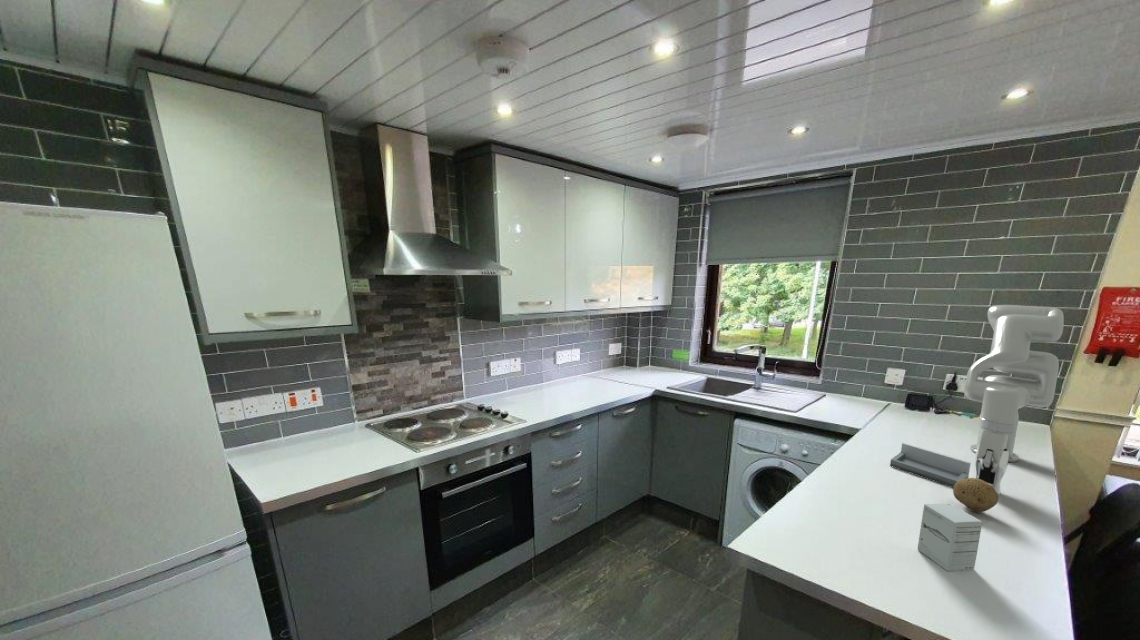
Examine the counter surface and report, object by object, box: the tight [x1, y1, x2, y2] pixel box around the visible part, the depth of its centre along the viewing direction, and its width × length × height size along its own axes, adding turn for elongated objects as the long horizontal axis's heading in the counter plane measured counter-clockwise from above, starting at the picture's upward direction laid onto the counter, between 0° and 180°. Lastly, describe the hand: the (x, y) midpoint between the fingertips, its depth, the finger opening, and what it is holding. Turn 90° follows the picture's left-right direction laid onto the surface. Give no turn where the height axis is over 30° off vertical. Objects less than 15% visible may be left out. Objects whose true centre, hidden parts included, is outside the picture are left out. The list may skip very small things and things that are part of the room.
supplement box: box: [917, 502, 983, 572], centre depth 91 cm, size 7×7×13 cm
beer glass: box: [974, 443, 1009, 497], centre depth 122 cm, size 7×7×15 cm
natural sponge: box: [952, 477, 999, 513], centre depth 111 cm, size 9×9×10 cm
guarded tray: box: [889, 442, 971, 488], centre depth 133 cm, size 12×18×6 cm, turn 34°
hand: (988, 478), depth 122 cm, fingers closed on beer glass, 6 cm apart
